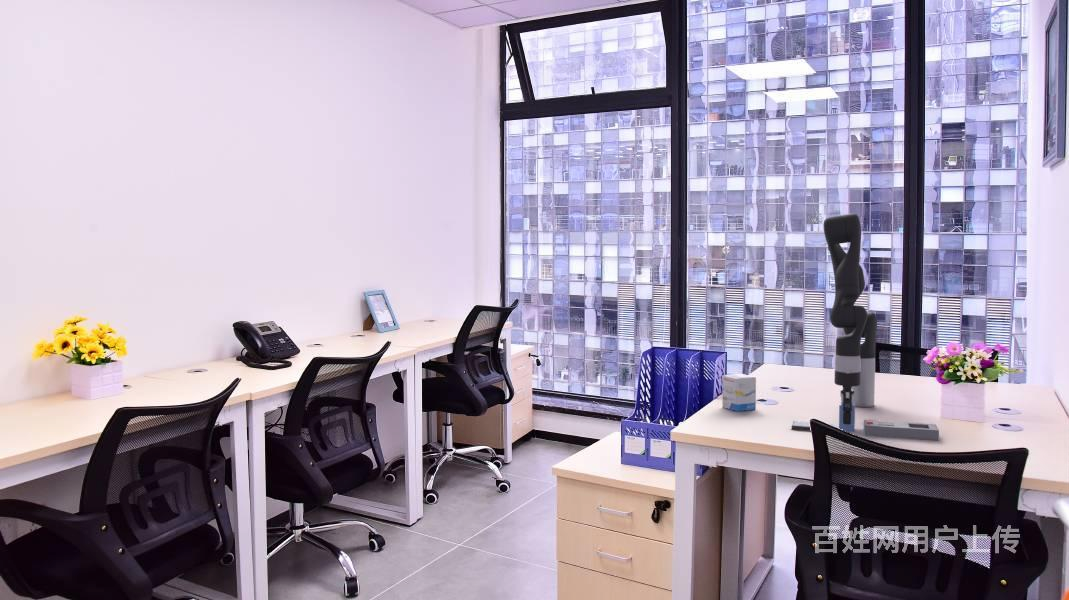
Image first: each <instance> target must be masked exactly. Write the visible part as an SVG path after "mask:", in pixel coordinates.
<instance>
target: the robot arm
mask: <svg viewBox="0 0 1069 600" xmlns="http://www.w3.org/2000/svg"><path fill="white" fill-rule="evenodd" d="M823 234H824V237H825V241H826V244H827V247H828V251H829V255H830V258H831V259H830V260H831V264H832V270H833V276H834V277H833V278H834V289H835V290H834V291H835V293H834V294H835V295H834V301H833V306H832V309H831V310H830V311H831V312H830V314H829V315H830V317H829V320H830V324H831V325H832V326H833V327H834V328H838V329H842V330H843V333H844V335H839V336H838V337H836V339H835V358H834V359H835V360H834V384H835V385H837V386H842V389H840V393H839V394H840V402H841V405H842V406H843V409H842V411H843V424H848V425H850V424H851V412H852V406H853V403H855V407H856V408H857V407H859V408H860V407H861V408H870V407H871V408H872V407H874V406H875V394H876V393H875V388H876V387H875V385H876V384H875V383H876V382H875V381H876V348H877V347H876V346H877V332H878V318H877V315H876V314H875V312H872V311H871V312H869V311H867V308H866V307H864V306H863V305H855V303H856V302H857V301H858V299H859V298H860V297H861V295H862V294H863V292H864V290H865V287H866V280H865V276H864V275H865V274H864V270H863V268H862V267H863V266H861V264H860V258H861V257H860V256H861V246H862V245H861V244H862V224H861V220H860V218H859V216H858V214H857V213H846V214H839V215H831V216H827V217H826V218H825V219H824V220H823ZM848 243H849V247H848V251H847V252H846V251H845V250H844V249H843V247H842V246H841V244H848ZM862 339H864V341H863V342H862V343H861V341H862ZM845 406H850V408H849V407H845Z"/></svg>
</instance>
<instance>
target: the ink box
mask: <svg viewBox="0 0 1069 600" xmlns="http://www.w3.org/2000/svg"><path fill="white" fill-rule="evenodd" d="M721 379H722V382H721V383H722V387H721V388H722V391H721V393H722V396H721V397H722V399H721V400H722V401H721V402H722V403H721V404H722V408H723V407H724V409H727V408H728V410H730V409H731V410H730V411H733V410H735V411H734V412H737V411H738V412H745V411H744V410H747V411H754V409H755V410H757V409H756V408H757V406H756V404H757V403H756V401H757V399H756V398H757V394H756V393H757V391H756V390H757V389H756V388H757V377H755V376H753V375H752V376H751V375H748V374H744V373H733V374H732V373H730V374H723V375H722V378H721Z"/></svg>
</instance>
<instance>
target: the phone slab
mask: <svg viewBox="0 0 1069 600" xmlns="http://www.w3.org/2000/svg"><path fill="white" fill-rule="evenodd" d="M809 422H810V421H798V420H793V421H792V422H791V423H792V424H791V430H795V431H807V432H808V431H809V432H811V431H810V426H809ZM827 423H828V424H830V425H832V426H833V427H834V423H832V422H831V423H830V422H827Z"/></svg>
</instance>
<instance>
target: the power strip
mask: <svg viewBox="0 0 1069 600" xmlns="http://www.w3.org/2000/svg"><path fill="white" fill-rule="evenodd" d="M863 434H864V436H870V437H872V436H873V437H886V438H887V437H888V438H900V439H914V440H926V441H927V440H928V441H929V440H930V441H939V440H940V438H939V437H940V430H939V428H938V426H937V424H935V423H934V424H933V423H922V422H907V421H905V422H904V421H893V420H892V421H890V420H876V419H874V420H873V419H863Z"/></svg>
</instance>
